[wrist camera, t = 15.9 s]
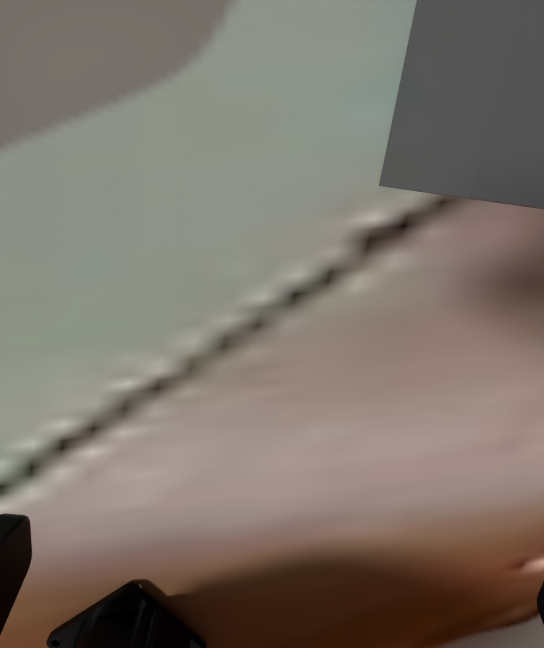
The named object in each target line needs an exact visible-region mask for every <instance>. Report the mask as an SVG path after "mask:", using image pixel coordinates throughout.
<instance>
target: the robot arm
mask: <svg viewBox="0 0 544 648" xmlns="http://www.w3.org/2000/svg"><path fill="white" fill-rule="evenodd" d="M31 558H32V544H31V527H30V520H29V518H28V517H27V516H25V515H17V514H1V515H0V634H1V632H2V630H3V627H4V625H5V623H6V620H7V618H8V616H9V613H10V611H11V609H12V607H13V604H14V602H15V600H16V597H17V595H18V593H19V590H20V588H21V586H22V583H23V581H24V579H25V576H26V574H27V572H28V569H29V566H30V563H31ZM537 607H538V611H539V614H540V616H541V619H542V621H543V624H544V581H543V583H542V585H541V588H540V590H539V592H538V595H537ZM46 644H47V646H48V647H49V648H207V646H206V644H205V642H204V641H202V640H201V639H200V638H199V637H198V636H196V635H195V634H194V633H193V632H192V631H190V630H189V629H188V628H187V627H186V626H184V625H183V624H182V623H181V622H180V621H179V620H177V619H176V618H175V617H174V616H173V615H171V614H170V613H169V612H168V611H167V610H165V609H164V608H163V607H162V606H161V605H159V604H158V603H157V602H156V601H155V600H154V599H152V598H151V597H150V596H149V595H148V594H146V593H145V592H144V591H143V590H142V589H140V588H139V587H138V586H136V585H134V584H126V585H124V586H123V587H121V588H119V589H118V590H116V591H115V592H113V593H112V594H110V595H108V596H107V597H105V598H104V599H102V600H101V601H99V602H97V603H96V604H94V605H93V606H91V607H90V608H88V609H86V610H85V611H83V612H82V613H80V614H79V615H77V616H75V617H74V618H72V619H71V620H69V621H68V622H66V623H64V624H63V625H61V626H60V627H58V628H57V629H55V630H53V631H52V632H51V633H50V635H49V637H48V639H47V642H46Z"/></svg>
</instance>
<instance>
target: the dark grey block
mask: <svg viewBox="0 0 544 648" xmlns="http://www.w3.org/2000/svg"><path fill="white" fill-rule="evenodd" d="M379 186H384V187H391V188H398V189H405V190H412V191H419V192H426V193H433V194H440V195H447V196H454V197H461V198H468V199H475V200H482V201H489V202H496V203H503V204H511V205H518V206H525V207H532V208H539V209H544V0H417V3H416V8H415V13H414V18H413V23H412V27H411V32H410V37H409V42H408V47H407V52H406V57H405V62H404V67H403V71H402V76H401V81H400V86H399V91H398V96H397V101H396V106H395V111H394V115H393V120H392V125H391V130H390V135H389V140H388V145H387V150H386V155H385V159H384V164H383V169H382V174H381V179H380V184H379Z"/></svg>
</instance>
